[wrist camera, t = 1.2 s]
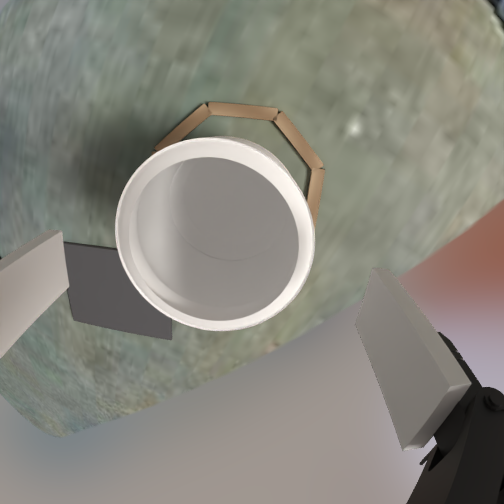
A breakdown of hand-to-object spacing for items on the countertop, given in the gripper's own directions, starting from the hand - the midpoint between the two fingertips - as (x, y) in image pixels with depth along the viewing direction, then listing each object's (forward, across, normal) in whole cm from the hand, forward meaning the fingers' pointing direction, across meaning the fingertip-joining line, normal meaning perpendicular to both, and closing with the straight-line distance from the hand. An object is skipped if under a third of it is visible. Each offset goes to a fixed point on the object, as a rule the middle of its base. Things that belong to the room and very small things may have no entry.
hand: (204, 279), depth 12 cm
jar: (+19, 0, 0) cm, 19 cm away
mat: (+18, -14, -13) cm, 26 cm away
